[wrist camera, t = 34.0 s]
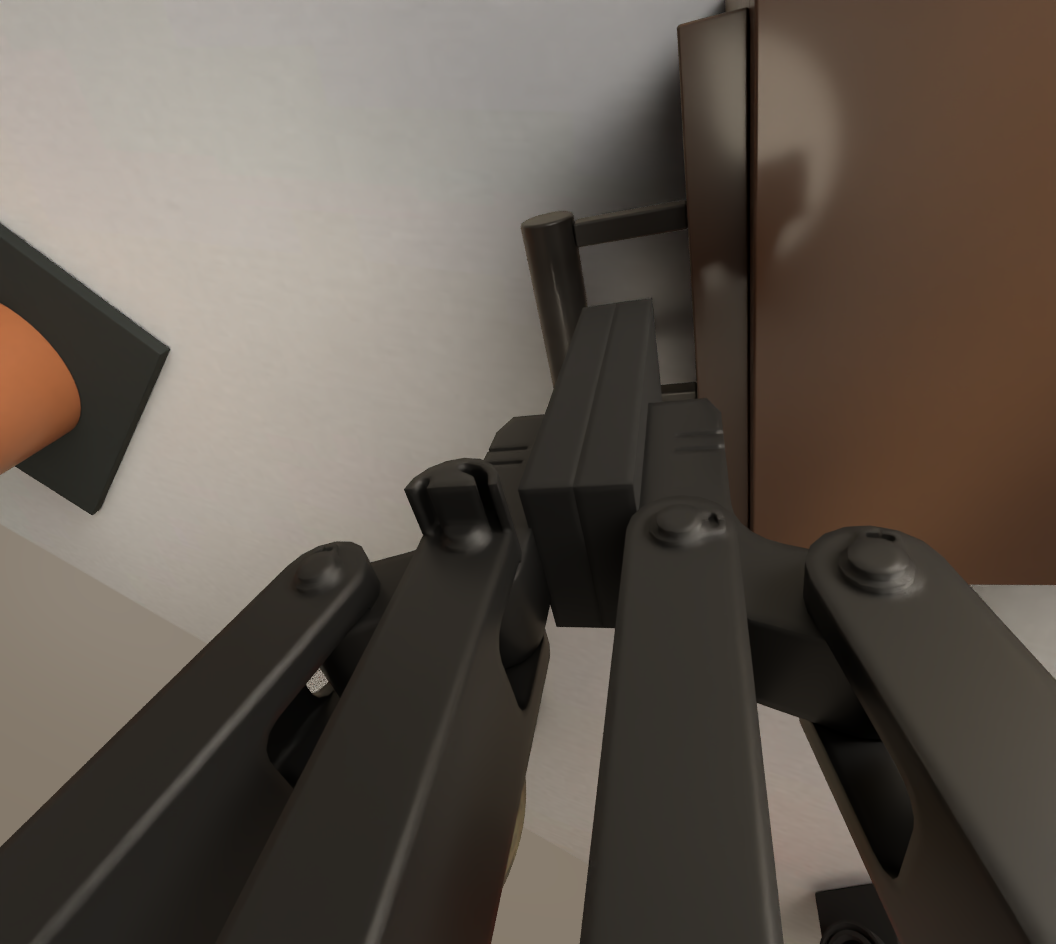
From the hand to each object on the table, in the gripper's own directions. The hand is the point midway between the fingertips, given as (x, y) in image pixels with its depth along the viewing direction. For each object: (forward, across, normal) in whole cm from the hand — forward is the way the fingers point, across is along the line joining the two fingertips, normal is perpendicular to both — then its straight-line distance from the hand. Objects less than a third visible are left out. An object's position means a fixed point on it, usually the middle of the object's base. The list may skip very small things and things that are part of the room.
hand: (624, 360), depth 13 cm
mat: (+8, -30, 0) cm, 31 cm away
